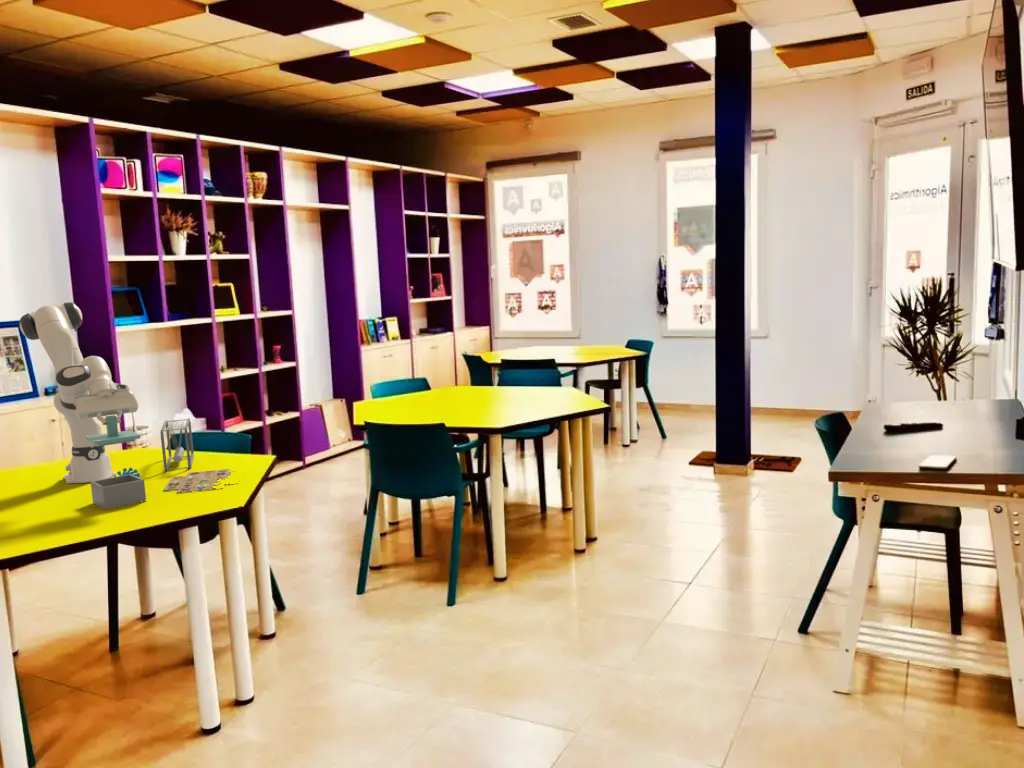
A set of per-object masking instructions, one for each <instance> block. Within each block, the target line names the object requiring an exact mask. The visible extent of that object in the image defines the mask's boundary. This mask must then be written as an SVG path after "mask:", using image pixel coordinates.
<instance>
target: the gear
mask: <svg viewBox="0 0 1024 768" xmlns="http://www.w3.org/2000/svg"><path fill="white" fill-rule="evenodd" d="M122 471H123V472H121V471H116V475H113V476H114V477H118V476H123V475H129V474H132V475H134V476H136V477H139V478H141V479H143V478H142V477H140V476H141V473H140V472H138V470H137V468H135V469H134V468H133V467H129V468H128V469H127V468H125V467H124V468H122ZM117 475H118V476H117Z"/></svg>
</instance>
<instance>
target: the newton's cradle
mask: <svg viewBox="0 0 1024 768" xmlns="http://www.w3.org/2000/svg"><path fill="white" fill-rule="evenodd" d="M185 422H186V423H185ZM184 423H185V426H184ZM173 424H176V425H173ZM177 425H180V426H177ZM183 426H184V428H183ZM179 430H180V431H179ZM183 430H184V439H185V448H186V456H185V455H184V454H185V449H184V448H183V446H181V445H182V435H183ZM175 431H179V432H180V433H179V441H178V440H177V437H176V435H175ZM164 432H166V441H167V451H168V460H167V455H166V445H165V437H164ZM188 436H189V437H188ZM170 438H171V439H170ZM160 440H161V441H160V443H161V450H162V452H161V453H162V460H163V468H164V472H168V471H171V470H172V471H173V470H180V469H189V470H191V469H192V465H193V461H194V457H195V454H194V443H193V433H192V423H191V418H189V417H188V418H187V419H175V420H167V419H166V420H164V423H163V424H162V427H161V429H160ZM171 440H172V444H173V448H174V453H173V456H172V447H171V446H172V445H171ZM183 458H186V459H187V467H185V466H184V467H176V468H169V467H170V464H171V461H172V460H173V461H174V462H175V463H180V462H182V461H183Z"/></svg>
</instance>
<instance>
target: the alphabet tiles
mask: <svg viewBox="0 0 1024 768" xmlns="http://www.w3.org/2000/svg"><path fill="white" fill-rule="evenodd" d="M229 471H230V472H229ZM231 472H235V470H234V471H231V468H226V469H225V468H224V469H216V470H214V469H213V470H203V471H202V470H201V471H192V472H191V471H190V472H187V474H186V475H181V476H179V475H178V476H171V478H170V479H169V481H168V482H167V483H166V484H165V486H164V488H163V490H162V492H163V491H167V492H171V491H170V490H177V491H176V494H177V493H180V494H183V493H182V492H190V493H193V492H192V491H199V492H203V491H202V490H208V491H210V490H209V489H216V488H213V487H212V486H218V485H220V484H221V483H220V484H218V485H215V484H213V483H219V482H220V481H219V482H218V481H217V480H219V479H222V480H223V479H224V480H225V478H228V477H227V476H230V475H231ZM206 484H207V485H206ZM205 485H206V486H205Z"/></svg>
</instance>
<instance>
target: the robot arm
mask: <svg viewBox="0 0 1024 768" xmlns="http://www.w3.org/2000/svg"><path fill="white" fill-rule="evenodd" d="M82 324H83V313H82V311H81V309H80V307H78V306H77V305H76V303H74V302H63V303H59V304H55V305H54V304H53V305H43V306H41V307H38V309H37V310H35V311H32V312H30V313H25V314H24V315H22V316H21V317H20V319H19V329H20V331H21V332H22V334H23V336H24V337H26V339H28V340H31V341H37V340H39V341H40V343H41V345H42V347H43V349H44V350H45V352H46V354H47V356H48V357H49V359H50V361H51V363H52V366H53V368H54V371H55V374H56V375H55V380H56V385H57V389H58V392H56V394H55V395H54V398H53V406H54V407H55V409H56V411H57V412H58V413H60V414H61V415H63V417H65V419H66V421H67V424H68V427H69V430H70V437H71V443H72V447H71V456H72V457H71V459H70V461H69V463H68V464H67V465H64V466H65V472H68V473H67V474H64V476H63V477H64V480H65V483H66V484H81V483H82V484H83V483H84V484H85V483H91V481H97V480H102V479H107V478H112V477H113V476H117V471H113V470H112V463H111V459H110V457H111V456H110V455H109V454H107V453H106V445H105V446H98V445H94V444H93V443H91V442H89V441H88V440H86V436H92V435H99V434H103V433H102V426H106V425H107V419H106V418H104V417H105V416H113V415H115V416H116V418H117V424H121V422H122V421H121V417H122V415H123V414H131V413H136V412H137V411H138V409H139V403H138V400H137V398H136V395H135V394H134V393H133V392H132V391H131V389H130V386H129V384H122V383H116V382H114V381H113V379H112V372H111V369H110V367H109V366H108V364H107V362H106V360H105V359H104V358H102V357H101V356H97V355H90V356H87V357H85V358H84V357H83V354H82V352H81V350H80V347H79V343H78V342H77V340H76V338H75V336H74V335H73V333H72V330H74V332H75V333H77V329H79V328H80V327H81V326H82ZM95 418H96V419H97V420H98V421H97V420H95ZM99 421H100V422H101V424H100V423H99ZM101 425H102V426H101Z"/></svg>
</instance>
